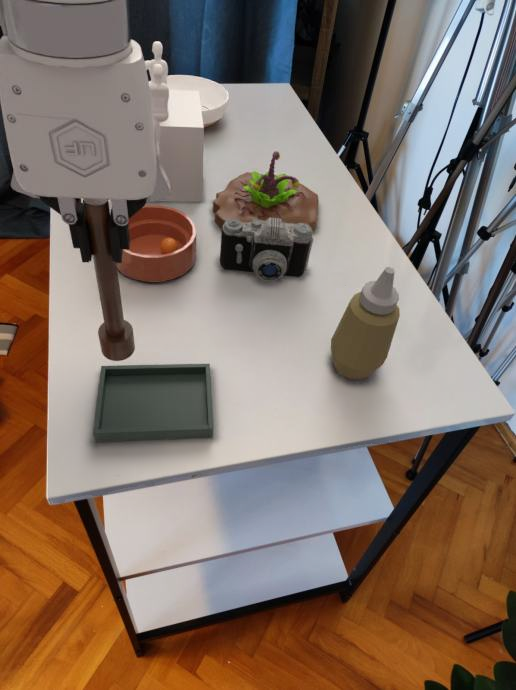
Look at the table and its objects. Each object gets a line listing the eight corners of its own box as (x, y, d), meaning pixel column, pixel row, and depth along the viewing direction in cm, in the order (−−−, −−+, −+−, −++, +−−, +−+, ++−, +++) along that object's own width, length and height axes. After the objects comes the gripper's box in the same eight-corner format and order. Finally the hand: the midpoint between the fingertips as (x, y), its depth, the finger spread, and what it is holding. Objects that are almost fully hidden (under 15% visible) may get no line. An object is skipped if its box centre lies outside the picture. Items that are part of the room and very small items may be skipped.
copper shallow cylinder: (109, 284, 77) (104, 257, 73) (115, 231, 86) (112, 204, 82) (197, 284, 79) (197, 258, 75) (194, 232, 88) (195, 206, 84)
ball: (160, 259, 82) (159, 245, 79) (160, 248, 84) (159, 234, 81) (178, 260, 82) (178, 245, 80) (178, 248, 84) (178, 234, 82)
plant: (327, 198, 100) (340, 146, 92) (305, 254, 87) (316, 199, 79) (235, 174, 102) (239, 121, 94) (200, 225, 90) (200, 169, 81)
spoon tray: (95, 442, 59) (92, 433, 58) (103, 375, 66) (101, 365, 64) (212, 437, 62) (213, 428, 60) (209, 372, 68) (209, 363, 66)
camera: (217, 282, 80) (219, 231, 73) (220, 255, 85) (223, 206, 77) (306, 291, 81) (318, 242, 74) (305, 264, 86) (316, 216, 78)
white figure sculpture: (197, 162, 104) (199, 28, 85) (203, 212, 93) (206, 70, 74) (126, 160, 102) (111, 22, 83) (122, 211, 90) (104, 65, 71)
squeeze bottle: (343, 393, 68) (381, 300, 54) (315, 352, 73) (343, 256, 59) (390, 377, 71) (437, 284, 57) (360, 337, 75) (397, 243, 62)
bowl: (138, 102, 120) (136, 75, 115) (216, 99, 125) (217, 74, 120) (152, 141, 108) (150, 113, 103) (237, 137, 113) (239, 110, 109)
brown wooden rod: (99, 361, 53) (69, 211, 39) (103, 336, 55) (75, 186, 41) (134, 361, 54) (116, 212, 40) (135, 336, 56) (119, 188, 42)
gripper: (-92, 28, 27) (0, 279, 41) (197, 53, 30) (192, 282, 43) (-52, -11, 32) (19, 225, 46) (194, 13, 34) (191, 230, 48)
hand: (103, 251), depth 44 cm, fingers closed on brown wooden rod, 2 cm apart
